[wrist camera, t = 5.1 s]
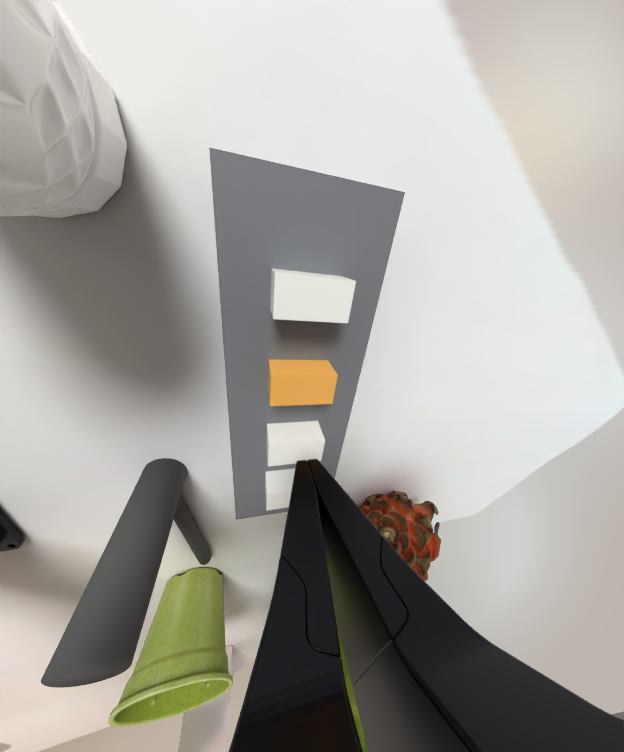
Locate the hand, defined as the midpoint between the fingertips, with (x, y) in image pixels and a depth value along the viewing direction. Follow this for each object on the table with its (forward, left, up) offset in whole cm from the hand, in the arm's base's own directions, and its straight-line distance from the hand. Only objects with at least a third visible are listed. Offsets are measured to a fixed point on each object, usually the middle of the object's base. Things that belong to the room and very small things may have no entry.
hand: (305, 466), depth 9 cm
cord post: (-9, +9, -8) cm, 15 cm away
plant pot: (-28, +9, -9) cm, 31 cm away
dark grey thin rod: (-17, +8, -8) cm, 21 cm away
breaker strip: (0, 0, -8) cm, 8 cm away
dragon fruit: (-18, -13, -9) cm, 24 cm away
